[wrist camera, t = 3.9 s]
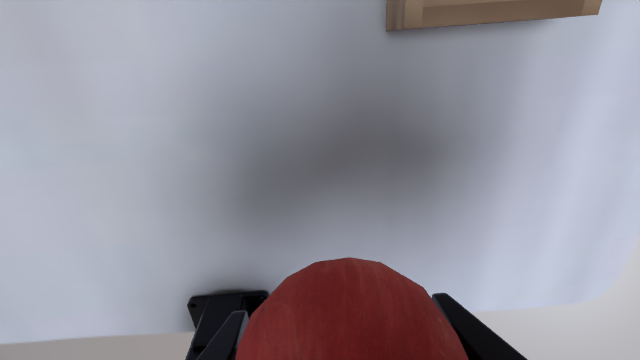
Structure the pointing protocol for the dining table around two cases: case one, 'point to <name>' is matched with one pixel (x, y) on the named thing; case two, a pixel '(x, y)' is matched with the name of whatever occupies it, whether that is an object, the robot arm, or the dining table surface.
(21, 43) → the dining table surface
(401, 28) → the wooden square tray
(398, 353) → the onion
